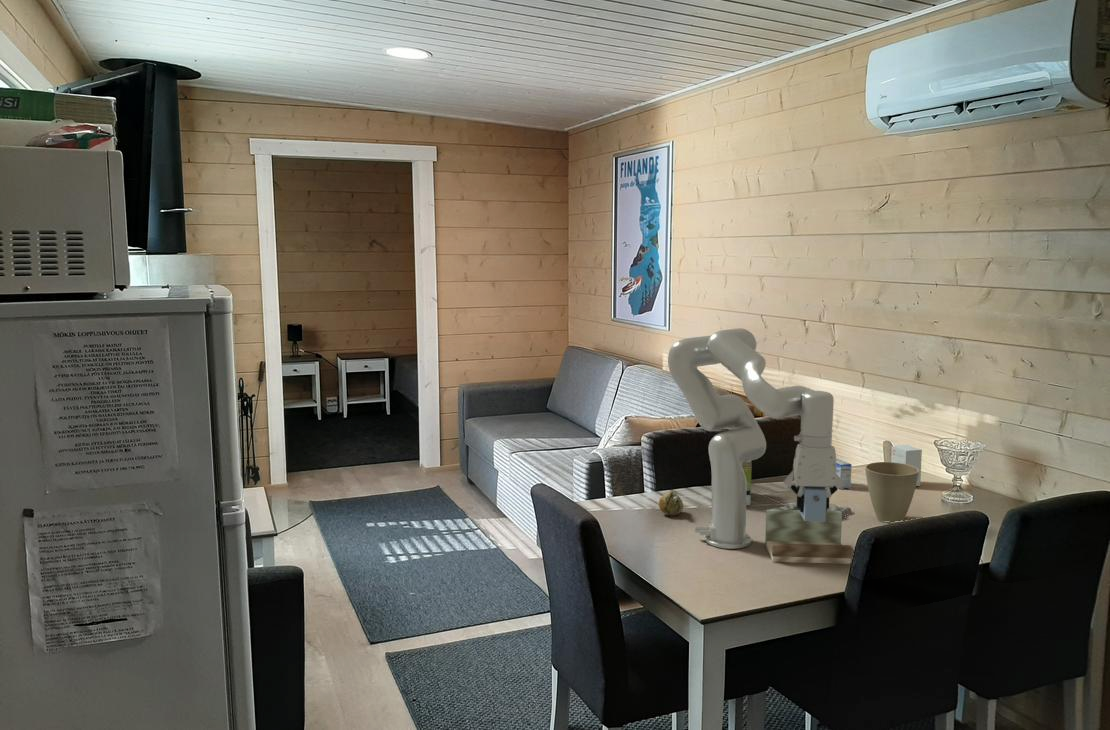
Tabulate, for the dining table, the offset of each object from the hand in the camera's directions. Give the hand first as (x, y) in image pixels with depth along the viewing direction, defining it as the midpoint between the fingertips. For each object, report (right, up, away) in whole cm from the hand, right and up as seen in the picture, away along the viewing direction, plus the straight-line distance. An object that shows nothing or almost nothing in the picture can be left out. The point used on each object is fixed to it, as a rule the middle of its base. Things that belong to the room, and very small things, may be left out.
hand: (812, 510), depth 208 cm
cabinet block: (0, -2, 0) cm, 2 cm away
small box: (+56, -5, +76) cm, 94 cm away
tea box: (-7, -8, +62) cm, 63 cm away
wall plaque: (+14, -10, +44) cm, 48 cm away
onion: (-29, -10, +48) cm, 57 cm away
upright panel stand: (+3, -14, +14) cm, 20 cm away
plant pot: (+36, -10, +40) cm, 55 cm away
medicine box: (+32, -5, +75) cm, 82 cm away
